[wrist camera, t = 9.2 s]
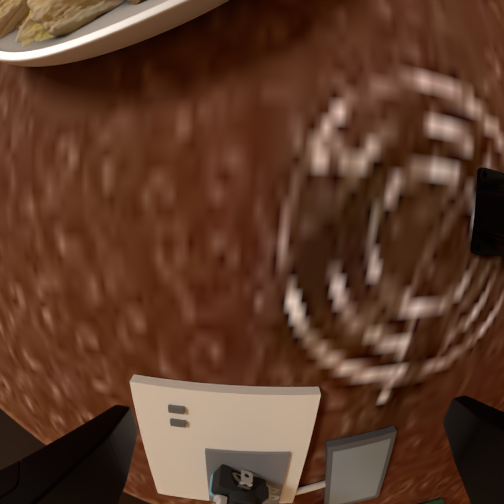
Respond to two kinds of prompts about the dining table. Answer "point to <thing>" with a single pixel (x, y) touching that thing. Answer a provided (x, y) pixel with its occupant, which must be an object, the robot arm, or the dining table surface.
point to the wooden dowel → (310, 487)
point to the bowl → (85, 27)
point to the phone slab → (357, 466)
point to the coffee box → (435, 502)
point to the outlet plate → (223, 433)
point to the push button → (239, 487)
